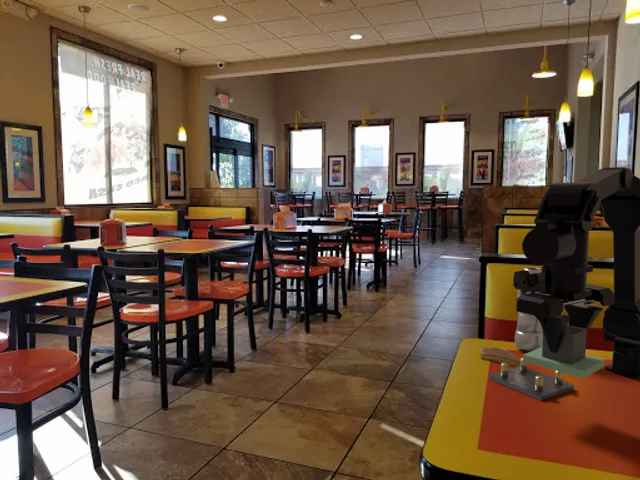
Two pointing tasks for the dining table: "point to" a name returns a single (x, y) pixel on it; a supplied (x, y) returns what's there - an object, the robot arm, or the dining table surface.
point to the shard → (499, 355)
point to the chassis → (532, 381)
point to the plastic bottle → (528, 327)
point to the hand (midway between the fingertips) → (563, 349)
